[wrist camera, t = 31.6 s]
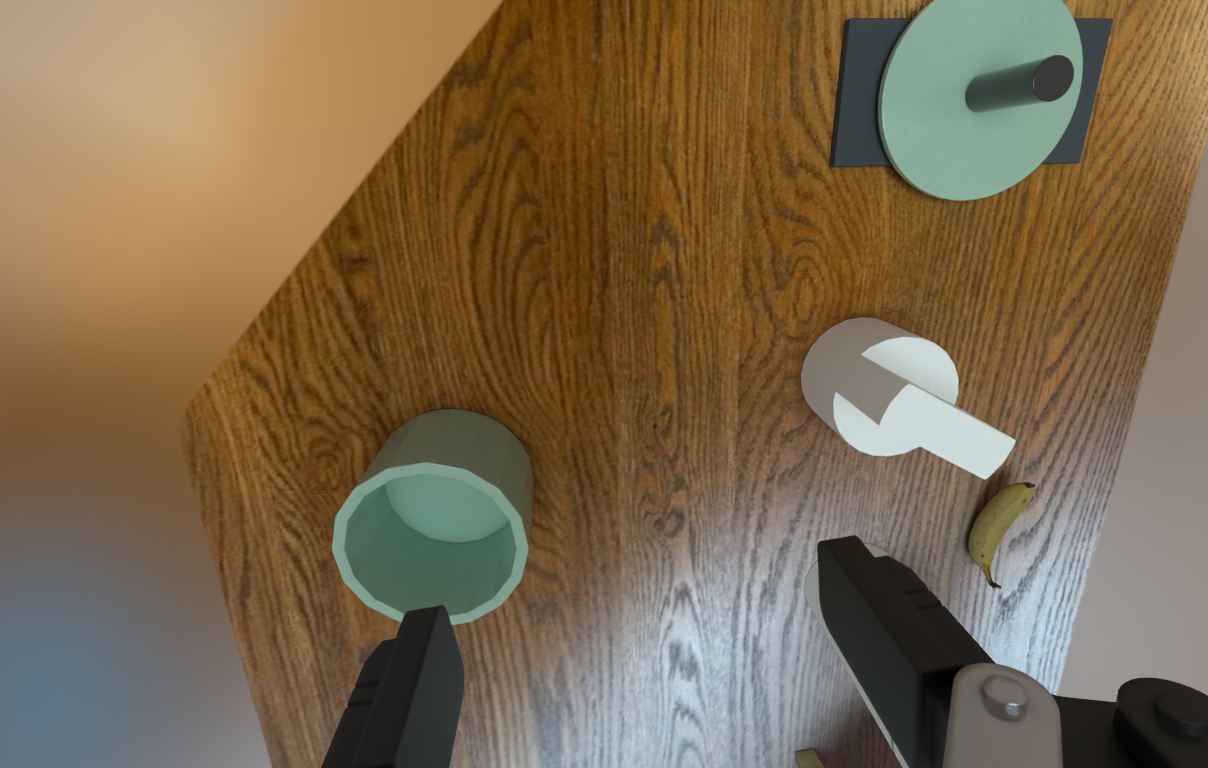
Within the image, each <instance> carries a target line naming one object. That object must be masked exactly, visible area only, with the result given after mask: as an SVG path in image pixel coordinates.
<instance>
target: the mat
mask: <svg viewBox="0 0 1208 768" xmlns="http://www.w3.org/2000/svg"><path fill="white" fill-rule="evenodd" d="M913 19H914V18H850V19H849V20H847V21H845V24H844V34H843V43H842V53H841V62H840V72H839V81H838V91H837V100H836V110H835V120H834V129H833V139H832V148H831V158H830V167H848V166H893V165H892V163H891V162H890V160H889V158H888V156H887V154H886V152H885V149H884V146H883V143H882V140H881V136H880V130H879V125H878V97H879V91H880V85H881V80H882V77H883V73H884V70H885V67H886V64H887V62H888V59H889V57H890V54H891V52H892V50H893V48H894V46H895V45H896V43H897V41H898V39H899V37H900V36H901V34H902V33H903V32H904V30H905V29H906V27H907V26H908V24H909V23H910V22H911V21H912V20H913ZM1074 21H1075V23H1076V26H1077V29H1078V32H1079V35H1080V40H1081V45H1082V55H1083V73H1082V82H1081V88H1080V93H1079V97H1078V100H1077V104H1076V107H1075V110H1074V112H1073V115H1072V117H1071V120H1070V122H1069V124H1068V126H1067V128H1066V130H1065V132H1064V134H1063V135H1062V137H1061V138H1060V140H1059V142H1058V143H1057V145H1056V146H1055V148H1054V149H1053V150H1052V151H1051V153H1050V154H1049V155H1048V156H1047V158H1046V159H1045V160H1044V161H1043V162H1042V163H1041V164H1055V163H1079V162H1080V158H1081V154H1082V150H1083V145H1084V141H1085V137H1086V133H1087V128H1088V124H1089V120H1090V116H1091V111H1092V107H1093V103H1094V99H1095V94H1096V90H1097V86H1098V82H1099V77H1100V73H1101V69H1102V65H1103V60H1104V56H1105V52H1106V48H1107V43H1108V39H1109V35H1110V31H1111V26H1112V22H1113V19H1074Z"/></svg>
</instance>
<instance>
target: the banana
mask: <svg viewBox="0 0 1208 768" xmlns="http://www.w3.org/2000/svg"><path fill="white" fill-rule="evenodd" d="M1034 491H1035V485H1034V484H1031V483H1029V482H1022V483H1016V484H1012V485H1009V486H1007V487H1005V488H1004V489H1003V490H1001V491H1000V492H999V493H998V494H997V495H996V496H995V497H994V498H993V499H992V500H991V501H990V502H989V503H988V504H987V505H986V506H985V508H984V509H983V510H982V512H981V513H980V515H979V516H978V518H977V520H976V521H975V523H974V525H973V528H972V530H971V533H970V537H969V544H968V545H969V552H970V555H971V557H972V559H973V560H974V562H975V563H976V564H977V565H978V566H980V568H981V569H982V571H983V572H984V574H985V576H986V579H987V581H988V583H989V585H990V586H992V588H996V587H997V588H1000V589H1001V586H1000V585H997V583H993V581H992V578H991V572H990V566H991V562H992V559H993V556H994V553H995V550H996V548H997V546H998V545H999V543H1000V541H1001V540H1002V538H1003V536H1004V534H1005V533H1006V531H1007V530H1008V528H1009V527H1010V525H1011V524H1012V522H1013V521H1014V520H1015V519H1016V518H1017V517H1018V515H1019V514H1020V513H1021V512H1022V511H1023V510H1024V509H1025V507H1026V506H1027V505H1028V503H1029V502H1030V500H1031V498H1032V495H1033V493H1034Z"/></svg>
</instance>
